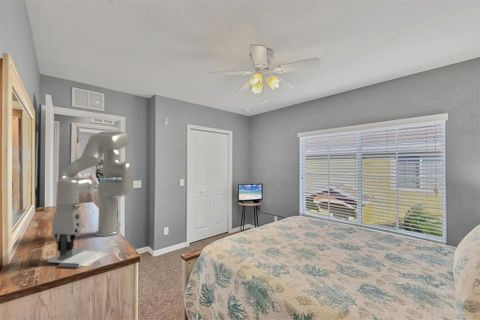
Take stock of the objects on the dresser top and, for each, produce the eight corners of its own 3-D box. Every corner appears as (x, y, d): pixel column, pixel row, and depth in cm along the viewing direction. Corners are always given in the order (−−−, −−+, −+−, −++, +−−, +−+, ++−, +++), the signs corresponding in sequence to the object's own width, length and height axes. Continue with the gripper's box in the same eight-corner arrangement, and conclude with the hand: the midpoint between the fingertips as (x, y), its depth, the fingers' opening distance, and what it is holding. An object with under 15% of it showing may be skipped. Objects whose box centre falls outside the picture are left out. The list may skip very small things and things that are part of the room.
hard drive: (79, 263, 86) (100, 251, 98) (59, 262, 86) (83, 250, 98) (78, 267, 86) (100, 254, 98) (58, 266, 86) (83, 254, 98)
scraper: (47, 262, 88) (48, 239, 88) (76, 249, 102) (76, 229, 102) (61, 262, 88) (62, 240, 88) (88, 249, 102) (88, 230, 102)
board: (85, 252, 101) (86, 251, 101) (108, 253, 100) (108, 253, 100) (60, 265, 88) (60, 264, 88) (86, 266, 87) (86, 266, 87)
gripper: (91, 206, 98) (89, 247, 98) (57, 205, 100) (56, 245, 99) (77, 209, 91) (76, 254, 90) (41, 208, 92) (39, 252, 92)
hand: (65, 249), depth 95 cm, fingers closed on scraper, 3 cm apart
